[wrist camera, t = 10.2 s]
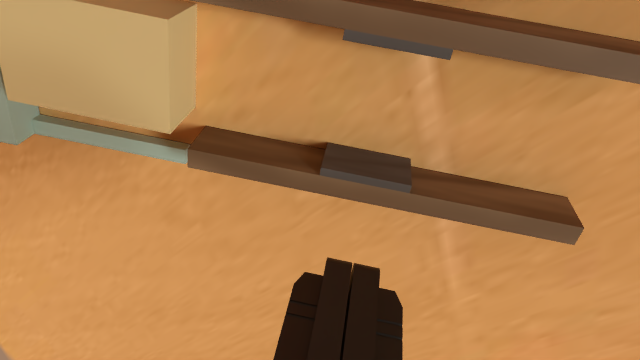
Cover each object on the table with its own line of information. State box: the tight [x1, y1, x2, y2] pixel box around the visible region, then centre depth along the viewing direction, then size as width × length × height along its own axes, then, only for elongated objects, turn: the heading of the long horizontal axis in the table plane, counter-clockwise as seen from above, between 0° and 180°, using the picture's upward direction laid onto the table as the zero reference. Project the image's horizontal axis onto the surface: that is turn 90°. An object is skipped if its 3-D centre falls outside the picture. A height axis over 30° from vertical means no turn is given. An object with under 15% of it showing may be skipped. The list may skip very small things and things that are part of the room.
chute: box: [187, 0, 640, 245], centre depth 25 cm, size 10×22×3 cm, turn 82°
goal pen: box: [0, 67, 190, 164], centre depth 25 cm, size 13×11×2 cm
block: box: [0, 0, 197, 134], centre depth 25 cm, size 6×9×4 cm, turn 81°
